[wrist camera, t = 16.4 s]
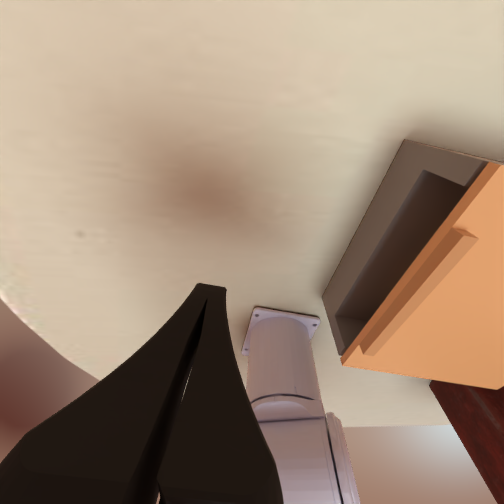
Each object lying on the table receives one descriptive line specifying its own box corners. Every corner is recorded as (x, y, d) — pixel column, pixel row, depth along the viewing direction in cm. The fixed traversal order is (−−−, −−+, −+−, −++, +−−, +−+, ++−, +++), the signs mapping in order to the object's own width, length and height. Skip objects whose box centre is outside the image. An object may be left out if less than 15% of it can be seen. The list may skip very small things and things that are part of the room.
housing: (438, 317, 26) (488, 379, 20) (321, 297, 25) (338, 355, 19) (578, 180, 17) (740, 219, 11) (404, 139, 16) (482, 160, 10)
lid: (491, 382, 20) (505, 400, 18) (340, 358, 19) (345, 375, 18) (751, 222, 11) (810, 237, 10) (489, 162, 10) (519, 169, 9)
